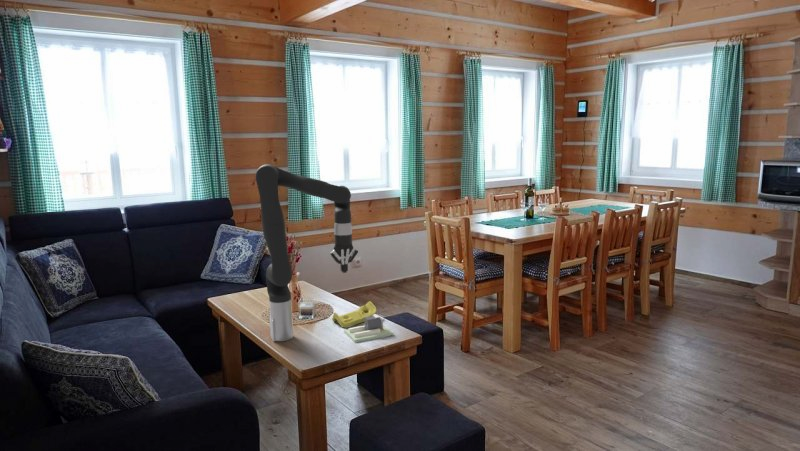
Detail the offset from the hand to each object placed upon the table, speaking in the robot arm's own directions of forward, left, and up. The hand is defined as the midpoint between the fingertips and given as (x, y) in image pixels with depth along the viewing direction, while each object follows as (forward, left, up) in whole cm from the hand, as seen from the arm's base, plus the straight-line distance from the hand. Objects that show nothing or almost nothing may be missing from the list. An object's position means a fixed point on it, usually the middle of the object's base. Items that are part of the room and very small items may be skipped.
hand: (344, 272), depth 235 cm
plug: (+11, -4, -27) cm, 29 cm away
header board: (+9, -4, -28) cm, 30 cm away
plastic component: (+10, +14, -29) cm, 33 cm away
